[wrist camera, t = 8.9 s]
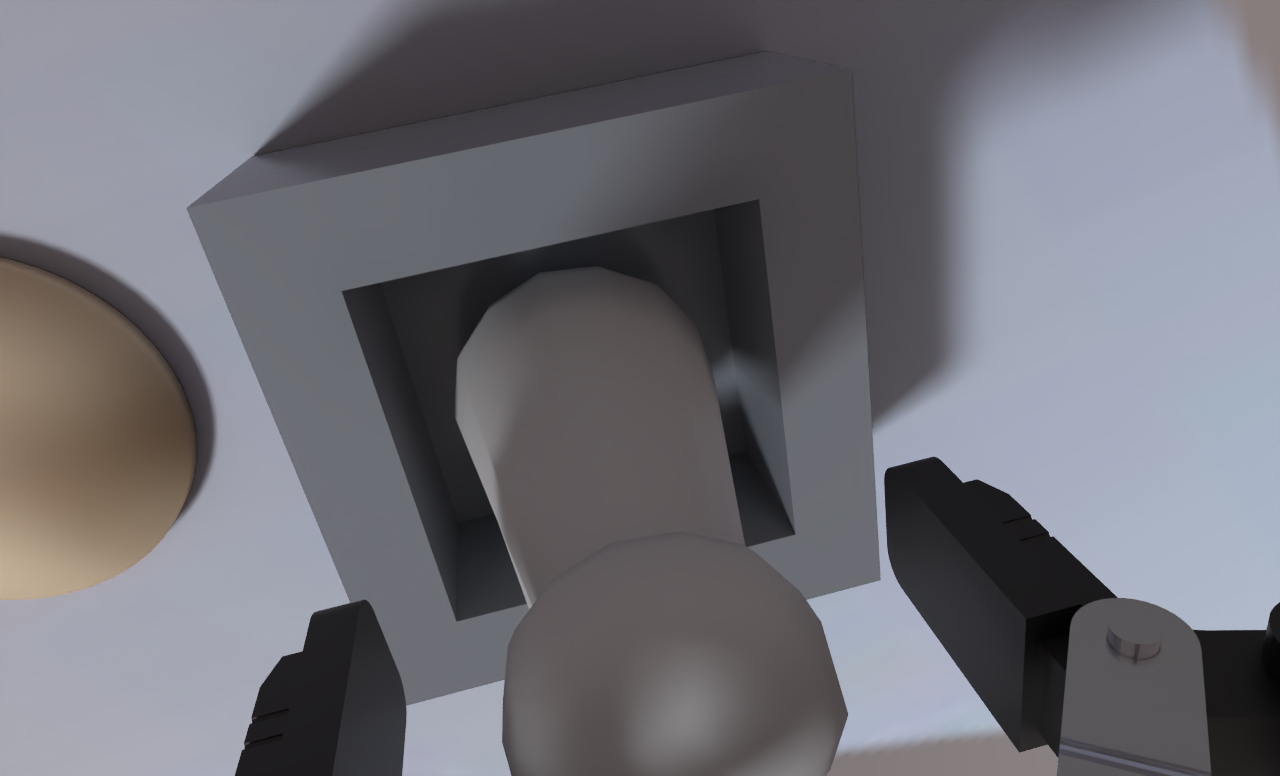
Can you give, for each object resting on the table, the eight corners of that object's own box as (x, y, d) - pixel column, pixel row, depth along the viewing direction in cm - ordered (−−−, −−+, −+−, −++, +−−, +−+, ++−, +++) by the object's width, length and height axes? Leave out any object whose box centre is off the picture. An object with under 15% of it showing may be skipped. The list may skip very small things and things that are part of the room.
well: (251, 156, 19) (186, 208, 15) (766, 51, 20) (851, 69, 16) (407, 577, 24) (394, 708, 20) (808, 476, 26) (880, 580, 21)
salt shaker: (614, 192, 20) (818, 479, 8) (725, 377, 22) (1000, 793, 11) (405, 326, 20) (323, 775, 9) (537, 492, 23) (611, 1010, 11)
